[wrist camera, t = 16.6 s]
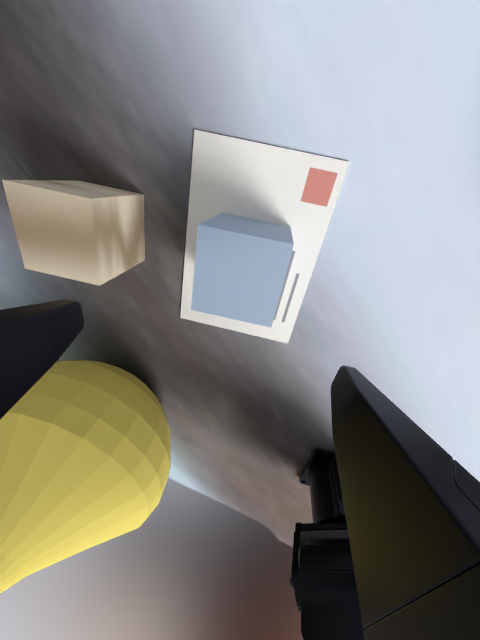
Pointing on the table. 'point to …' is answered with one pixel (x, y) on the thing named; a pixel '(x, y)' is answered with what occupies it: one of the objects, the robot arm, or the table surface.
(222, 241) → the cube
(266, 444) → the table surface
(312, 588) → the robot arm
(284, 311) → the letter
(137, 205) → the block
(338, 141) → the table surface
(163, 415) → the vase
